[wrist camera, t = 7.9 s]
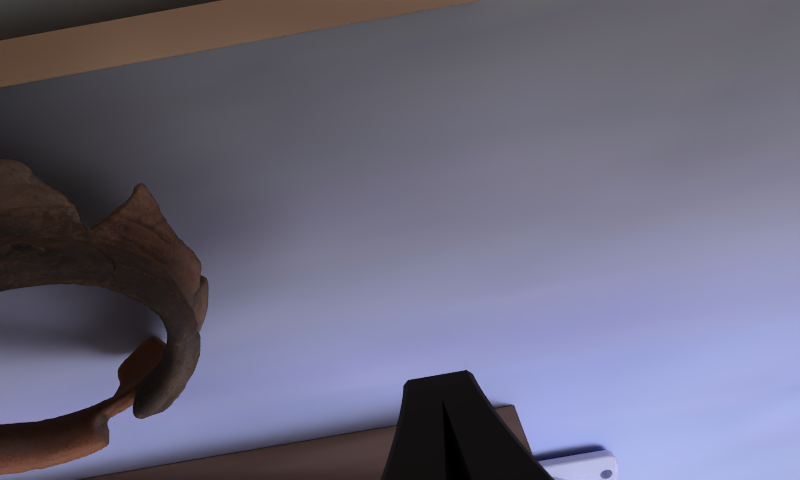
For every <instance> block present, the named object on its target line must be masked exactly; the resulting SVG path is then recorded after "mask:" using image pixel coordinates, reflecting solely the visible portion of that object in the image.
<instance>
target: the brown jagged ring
mask: <svg viewBox="0 0 800 480" xmlns="http://www.w3.org/2000/svg"><path fill="white" fill-rule="evenodd" d="M200 274H201V263H200V261H199V259H198V258H197V257H196V255H195V254H194V252H193V251H192V250H191V249H190V248H189V247H187V246H186V245H185V244H184V242H183V241H182V240H180V239H179V238H178V237H177V236H176V234H175V233H174V231H173V230H172V229H171V227H170V226H169V224H168V223H167V221H166V219H165V218H164V217H163V215H162V214H161V212H160V209H159V206H158V204H157V202H156V201H155V199H154V197H153V196H152V195H151V193H150V192H149V190H148V189H147V188H146V186H145V185H144V184H142V183H141V184H138V185H136V186H135V188H134V191H133V194H132V196H131V197H130V198H129V199H128V200H127V201H126V202H125V203H124V204H122V205H121V206H119V207H118V208H117V209H116V210H115V211H113V212H112V213H111V214H110V215H109V216H108V217H107V218H105V219H104V220H102V221H101V222H100V223H99V224H97V225H96V226H95V227H93V228H92V229H88V228H86V227H85V226H84V224H83V222H82V219H81V217H80V214H79V211H78V209H77V207H76V206H75V205H74V204H73V203H72V202H71V201H70V200H69V199H67V197H66V196H65V195H64V194H62V193H61V192H60V191H58V190H56V189H55V188H54V187H52V186H50V185H48V184H46V183H44V182H43V181H41V180H39V179H38V178H37V176H36V175H35V174H34V173H33V171H32V170H31V169H30V168H29V167H28V166H27V165H26V164H24V163H22V162H20V161H17V160H8V159H0V292H1V291H5V290H10V289H16V288H23V287H32V286H40V285H47V284H80V285H88V286H100V287H103V288H107V289H110V290H113V291H116V292H119V293H123V294H125V295H126V296H128V297H130V298H133V299H135V300H137V301H138V302H141V303H143V304H144V305H146V306H148V307H149V308H150V309H151V310H153V311H154V312H155V313H156V314H157V315H159V317H160V319H161V320H162V321H163V323H164V325H165V328H166V331H167V344H166V343H164V342H163V341H162V340H160V339H159V338H156V337H153V338H151V339H149V340H147V341H145V342H144V343H143V344H142V345H141V346H140V347H138V348H137V349H136V350H135V351H134V352H133V353H132V354H131V355H130V356H129V357H128V358H127V359H125V361H124V362H123V363H122V364H121V366H120V367H119V369H118V378H119V381H120V386H119V388H118V390H117V392H116V393H115V395H114V396H113V397H111V398H109V399H107V400H104V401H102V402H100V403H98V404H96V405H94V406H91V407H89V408H86V409H83V410H80V411H77V412H74V413H70V414H67V415H63V416H59V417H56V418H53V419H45V420H42V421H38V422H25V423H14V424H0V475H3V474H13V473H22V472H25V471H29V470H34V469H43V468H47V467H50V466H55V465H59V464H63V463H66V462H69V461H72V460H75V459H79V458H82V457H85V456H88V455H90V454H92V453H95V452H97V451H98V450H101V449H102V448H104V447H106V446H107V445H108V444H109V429H108V426H107V422H108V420H109V418H111V417H113V416H114V415H116V414H118V413H120V412H122V411H124V410H125V409H127V408H129V407H130V406H132V405H133V414H134V416H135V417H136V418H139V419H143V418H146V417H148V416H151V415H154V414H157V413H160V412H163V411H164V410H166V409H167V408H168V407H169V406H170V405H171V404H172V403H173V402H174V400H175V399H176V398H178V396H179V395H180V393H181V392H182V391H183V390H184V388H185V386H186V383H187V382H188V380H189V379H190V377H191V376H192V374H193V372H194V370H195V368H196V365H197V362H198V358H199V356H200V334H199V332H200V330H201V327H202V324H203V322H204V319H205V316H206V312H207V307H208V281H207V278H205V277H204V276H202V275H200Z"/></svg>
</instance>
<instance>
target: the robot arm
mask: <svg viewBox="0 0 800 480" xmlns="http://www.w3.org/2000/svg"><path fill="white" fill-rule="evenodd" d="M617 469H618V463H617V459H616V458H615V456H614V454H613V453H612V452H611V451H608V450H602V451H596V452H590V453H584V454H578V455H572V456H566V457H561V458H555V459H549V460H543V461H537V460H536V459H535V458H534V457H533V456H532V455H531V453H530V452H529V451H528V450H527V449H526V448H525V447H524V445H523V444H522V443H521V442H520V441H519V439H518V438H517V437H516V436H515V434H514V433H513V432H512V431H511V430H510V428H509V427H508V426H507V425H506V423H505V422H504V421H503V420H502V418H501V417H500V416H499V414H498V413H497V412H496V410H495V409H494V407H493V406H492V405H491V403H490V402H489V400H488V399H487V397H486V396H485V394H484V393H483V391H482V390H481V388H480V387H479V385H478V383H477V381H476V380H475V378H474V376H473V374H472V373H470V372H469V371H467V370H465V371H459V372H453V373H447V374H441V375H435V376H430V377H424V378H418V379H412V380H408V381H407V382H406V383H405V385H404V387H403V398H402V405H401V410H400V415H399V419H398V423H397V428H396V432H395V435H394V439H393V442H392V445H391V449H390V452H389V455H388V459H387V462H386V465H385V468H384V471H383V474H382V476H381V479H380V480H617Z"/></svg>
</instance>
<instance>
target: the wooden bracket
mask: <svg viewBox="0 0 800 480" xmlns="http://www.w3.org/2000/svg"><path fill="white" fill-rule="evenodd" d="M474 1H479V0H220V1H215V2H209V3H204V4H198V5H193V6H187V7H182V8H176V9H171V10H165V11H160V12H154V13H149V14H143V15H138V16H132V17H127V18H121V19H116V20H111V21H105V22H100V23H94V24H89V25H83V26H78V27H72V28H67V29H61V30H56V31H50V32H45V33H39V34H34V35H28V36H23V37H17V38H12V39H6V40H1V41H0V87H5V86H10V85H16V84H21V83H27V82H32V81H38V80H43V79H49V78H54V77H60V76H65V75H71V74H76V73H82V72H87V71H93V70H99V69H104V68H110V67H115V66H121V65H126V64H132V63H137V62H143V61H148V60H154V59H159V58H165V57H170V56H176V55H181V54H187V53H192V52H198V51H203V50H209V49H214V48H220V47H225V46H231V45H236V44H242V43H247V42H253V41H258V40H264V39H270V38H275V37H281V36H286V35H292V34H297V33H303V32H308V31H314V30H319V29H325V28H330V27H336V26H341V25H347V24H352V23H358V22H363V21H369V20H374V19H380V18H385V17H391V16H396V15H402V14H407V13H413V12H418V11H424V10H429V9H435V8H441V7H446V6H452V5H457V4H463V3H468V2H474ZM495 410H496V412H497V413H498V414H499V416H500V417H501V418H502V420H503V421H504V422H505V423H506V425H507V426H508V427H509V428H510V430H511V431H512V432H513V433H514V434H515V436H516V437H517V438H518V439H519V441H520V442H521V443H522V444H523V445H524V447H525V448H526V449H527V450H528V451H529V452H530V453H531V455H532V452H531V449H530V446H529V444H528V441H527V438H526V436H525V433H524V431H523V428H522V425H521V423H520V420H519V417H518V415H517V412H516V410H515V407H514V405H513V406H508V407H502V408H496V409H495ZM396 428H397V426H391V427H385V428H379V429H373V430H367V431H362V432H356V433H350V434H344V435H338V436H332V437H327V438H321V439H315V440H309V441H303V442H297V443H292V444H286V445H280V446H274V447H268V448H262V449H257V450H251V451H245V452H239V453H233V454H227V455H222V456H216V457H210V458H204V459H198V460H192V461H186V462H181V463H175V464H169V465H163V466H157V467H151V468H146V469H140V470H134V471H128V472H122V473H116V474H111V475H105V476H99V477H93V478H87V479H81V480H380V479H381V476H382V474H383V471H384V468H385V465H386V462H387V459H388V455H389V452H390V449H391V445H392V442H393V439H394V435H395V432H396Z"/></svg>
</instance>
